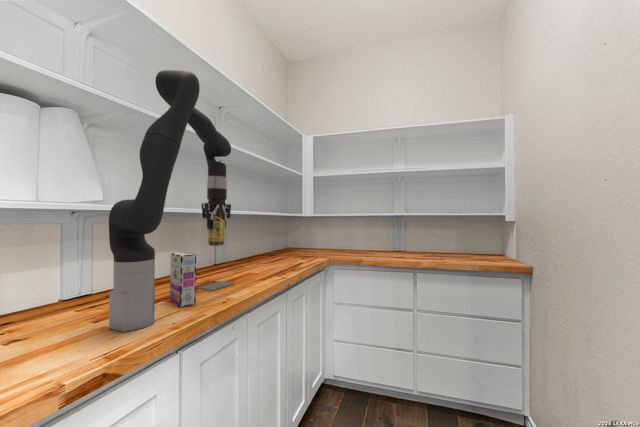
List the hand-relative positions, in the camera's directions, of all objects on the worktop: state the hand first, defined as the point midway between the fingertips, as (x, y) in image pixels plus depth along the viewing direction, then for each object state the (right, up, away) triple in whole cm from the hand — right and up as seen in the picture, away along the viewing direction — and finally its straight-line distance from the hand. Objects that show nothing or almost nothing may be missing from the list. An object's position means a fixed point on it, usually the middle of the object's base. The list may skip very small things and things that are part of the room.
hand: (216, 228), depth 117 cm
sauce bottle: (0, -7, 0) cm, 7 cm away
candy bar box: (-4, -24, -22) cm, 32 cm away
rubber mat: (0, -24, 0) cm, 24 cm away
